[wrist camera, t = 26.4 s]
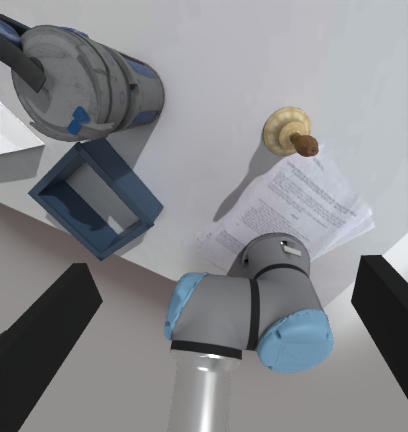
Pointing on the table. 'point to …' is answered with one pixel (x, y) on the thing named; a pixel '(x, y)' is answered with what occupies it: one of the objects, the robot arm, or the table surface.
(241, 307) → the robot arm
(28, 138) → the triangle block
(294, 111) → the hand bell
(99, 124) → the grey piece
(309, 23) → the table surface
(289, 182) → the table surface
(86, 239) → the dark blue open box
